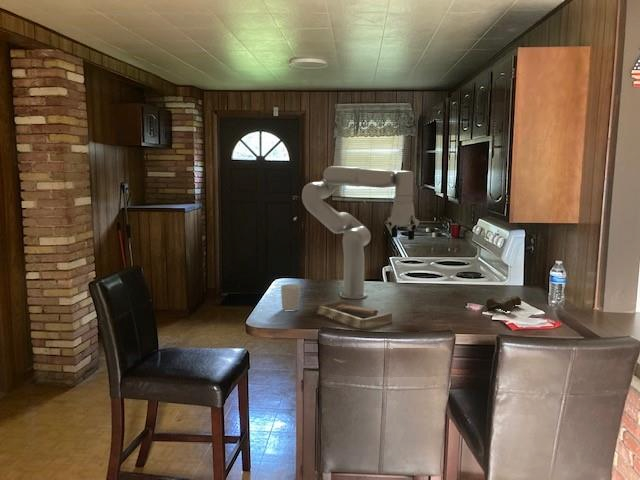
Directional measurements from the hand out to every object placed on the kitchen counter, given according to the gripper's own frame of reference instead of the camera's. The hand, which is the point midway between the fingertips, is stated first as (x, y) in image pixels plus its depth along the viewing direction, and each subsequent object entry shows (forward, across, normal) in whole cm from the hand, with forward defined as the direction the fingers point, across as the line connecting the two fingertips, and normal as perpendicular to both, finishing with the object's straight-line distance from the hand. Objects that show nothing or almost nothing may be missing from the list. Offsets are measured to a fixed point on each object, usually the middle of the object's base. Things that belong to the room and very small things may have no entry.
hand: (402, 238), depth 229 cm
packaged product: (+29, +7, -33) cm, 45 cm away
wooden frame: (+28, +6, -34) cm, 45 cm away
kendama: (+29, +36, +23) cm, 52 cm away
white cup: (+28, -19, -47) cm, 58 cm away
